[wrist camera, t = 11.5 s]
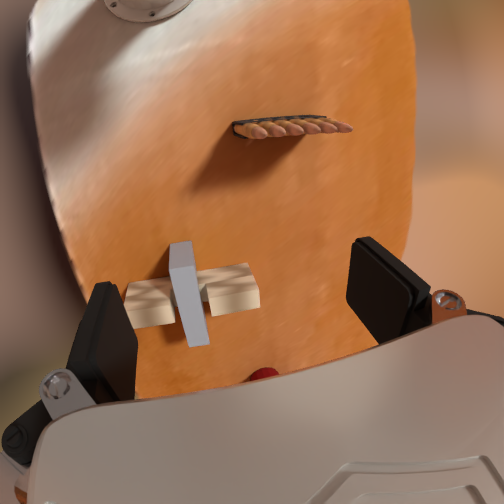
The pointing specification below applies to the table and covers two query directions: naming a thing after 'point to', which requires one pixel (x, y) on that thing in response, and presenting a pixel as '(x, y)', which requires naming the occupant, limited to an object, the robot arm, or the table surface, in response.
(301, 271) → the table surface
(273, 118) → the ammunition clip
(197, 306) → the grey block
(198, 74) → the table surface
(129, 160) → the table surface
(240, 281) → the birch block
